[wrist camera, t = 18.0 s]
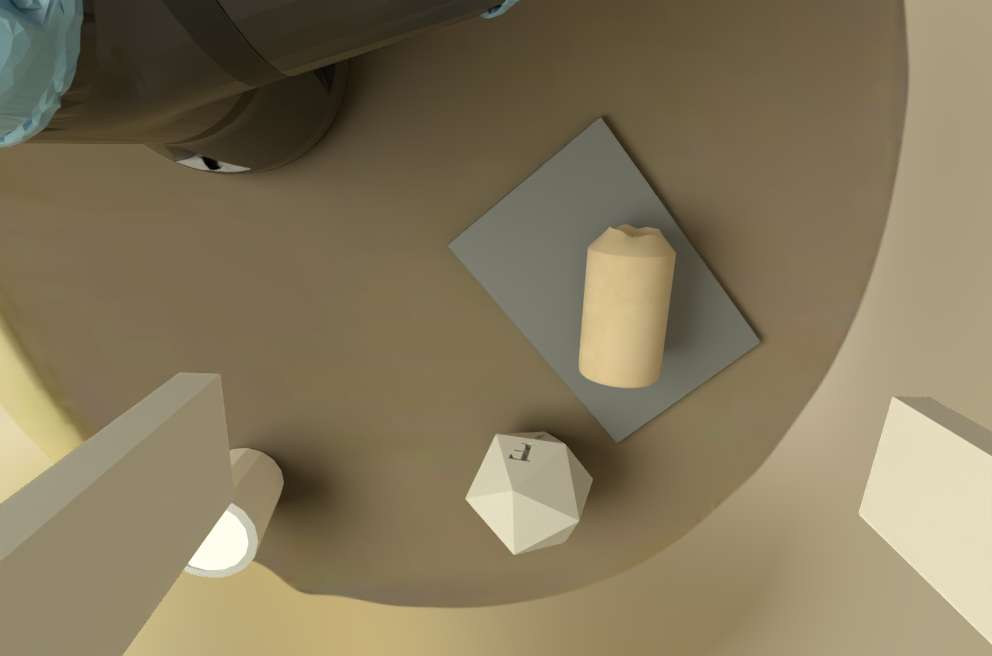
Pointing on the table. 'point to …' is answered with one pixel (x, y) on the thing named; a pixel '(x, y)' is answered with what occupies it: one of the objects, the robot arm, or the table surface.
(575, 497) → the die
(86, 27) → the robot arm
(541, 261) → the mat
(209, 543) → the shot glass
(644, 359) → the candle
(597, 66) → the table surface
